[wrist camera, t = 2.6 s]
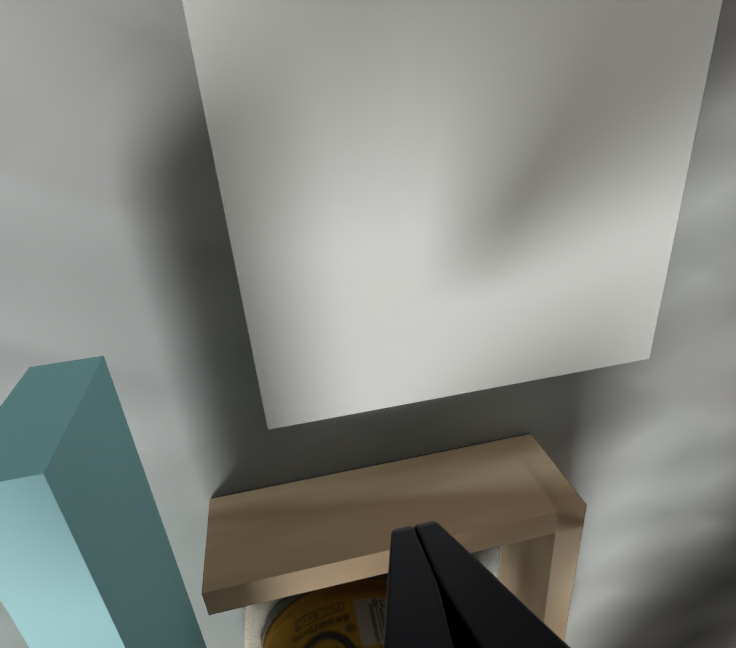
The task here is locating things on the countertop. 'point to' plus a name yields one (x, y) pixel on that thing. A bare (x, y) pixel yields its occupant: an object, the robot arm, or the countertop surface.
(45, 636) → the bar
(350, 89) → the mat
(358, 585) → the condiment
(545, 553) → the holder
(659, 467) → the countertop surface
